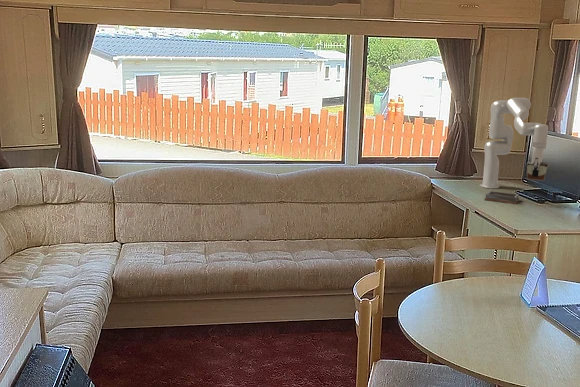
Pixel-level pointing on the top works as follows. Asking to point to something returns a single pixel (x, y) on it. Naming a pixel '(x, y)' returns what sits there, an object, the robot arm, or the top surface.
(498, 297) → the top surface
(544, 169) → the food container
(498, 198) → the cradle
